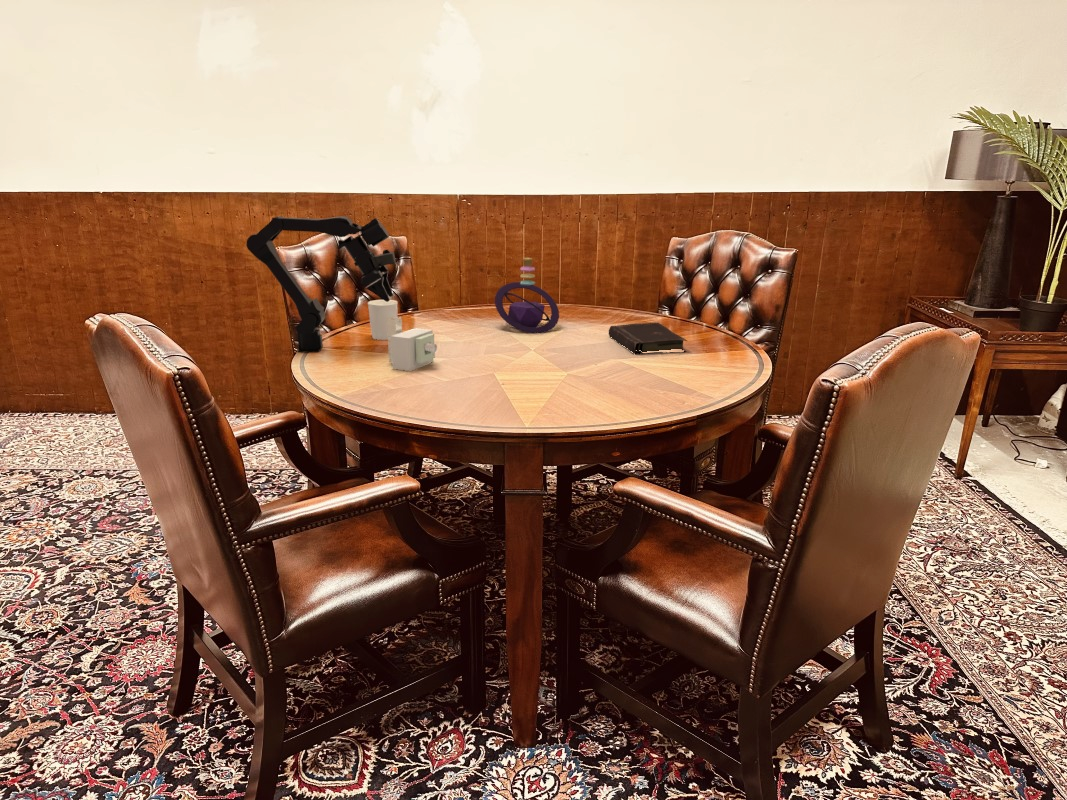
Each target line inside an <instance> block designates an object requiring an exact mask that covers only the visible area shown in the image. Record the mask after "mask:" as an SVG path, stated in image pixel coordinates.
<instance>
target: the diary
mask: <svg viewBox="0 0 1067 800" xmlns="http://www.w3.org/2000/svg"><path fill="white" fill-rule="evenodd" d="M608 336H609V338H610V337H612V338H613V339H615V340H616V341H618V342H619V343H620V344H621V345H623V346H625V347H626V348H628V349H629V350H630V351H632V352H633V353H636V354H637V352H636V351H635V350H637V351H638V352H640V351H639V350H641V351H642V352H647V351H659V350H671V349H683V350H684V348H683V347H684V341H685V342H688V340H687V339H686V338H685V337H682V336H681V335H679V334H677V333H675V332H673V331H672V330H670V329H669V328H667V327H666V326H665V325H663V324H661V323H659V322H640V323H637V322H636V323H627V324H618V325H610V326H609V328H608ZM612 338H611V339H612ZM613 339H612V340H613ZM615 340H614V341H615ZM616 341H615V342H616ZM618 342H617V343H618ZM619 343H618V344H619ZM620 344H619V345H620ZM621 345H620V346H621ZM623 346H622V347H623ZM626 348H625V349H626ZM629 350H628V351H629ZM630 351H629V352H630ZM633 353H632V354H633ZM640 353H641V352H640Z"/></svg>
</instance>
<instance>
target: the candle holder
mask: <svg viewBox="0 0 1067 800" xmlns="http://www.w3.org/2000/svg"><path fill="white" fill-rule="evenodd" d="M367 307H368V315H369V323H370V332H371V337H372V339H373V340H376V339H377V340H376V341H388V330H387V318H390V317H398V300H394V299H390V301H388V302H386V301H385V300H383V299H375V300H374V299H373V300H370V301H368V302H367Z"/></svg>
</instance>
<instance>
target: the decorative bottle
mask: <svg viewBox="0 0 1067 800" xmlns="http://www.w3.org/2000/svg"><path fill="white" fill-rule="evenodd" d="M522 261H523V264H522V266H521V267H520V271H521V272H534V271H535V270H536V268H535V267H534V266H533V257H523V258H522ZM519 277H520V278H521V279H522V280H521V281H520V282H519V281H516V282H515V281H514V282H509V283H507V284H506V283H505V285H503V286H501V287H500V288H499V289H498V291H496V294H495V297H494V305H495V308H496V311H497V312H498V314H499V316H500V317H501V318H502V320H504V321H505V322H506V323H507V324H508V325H509V326H511V327H512V328H514V329H516V330H518V331H522V332H523V333H527V334H528V333H529V334H543V333H546V332H549V331H550V330H552V329H554V328H555V327H556V325H557V324H558V322H559V318H560V310H559V308H558V305H557V302H556V301H555V300H554V299H553V296H551V295H550V294H548V292H546V291H545V290H544V289H542V288H540V287H539V286H537V285H535V284H536V282H535V281H534V280H529V279H534V278H535V277H536V275H535V274H533V273H521V274H520V276H519ZM523 279H526V280H523ZM515 289H525V290H530V291H532V292H534V293H536V294H538V295H540V296H541V297H543V299H545V301H546V302H547V304H548V305H549V308H550V311H551V312H550V314H551V315H550V317H549V316H548V314H547V313H546V312H545V306H546V305H544V304H542V303H543V301H542V303H540V302H538V301H528V299H525V298H524V297H522V296H519V295H517V294H514V293H512V292H510V291H512V290H515ZM509 296H513V297H516V298H518V299H519V300H522V301H515V302H513V301H512V300H511V299H510V298H509ZM504 298H505V299H506V300H508V301H509V302H510V303H511V304H509V305H508V306H509V308H508V314H507V312H506V310H505V308H504V304H503V302H504V301H503V299H504ZM544 316H545V317H546V318H544ZM542 321H544V322H546V323H545V324H543V325H540V323H541V322H542ZM539 325H540V326H539Z"/></svg>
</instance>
